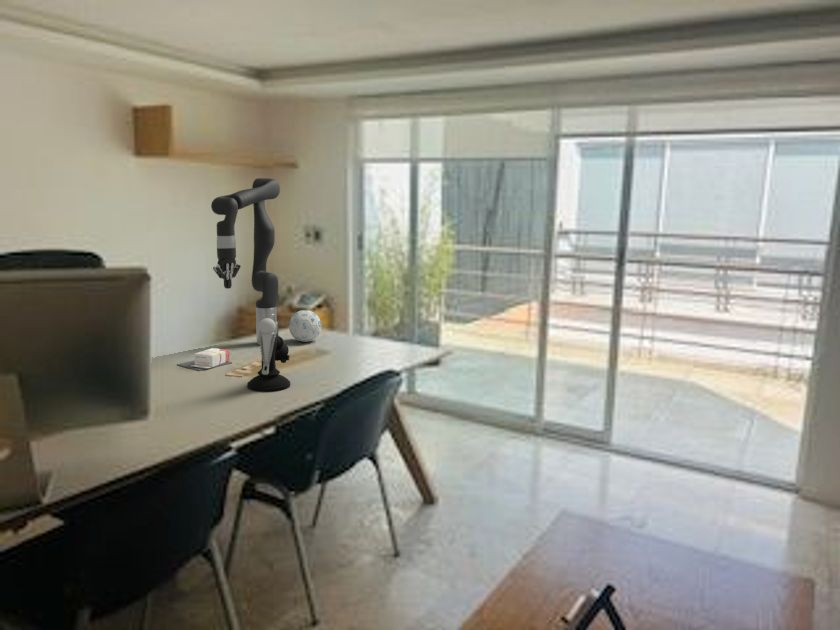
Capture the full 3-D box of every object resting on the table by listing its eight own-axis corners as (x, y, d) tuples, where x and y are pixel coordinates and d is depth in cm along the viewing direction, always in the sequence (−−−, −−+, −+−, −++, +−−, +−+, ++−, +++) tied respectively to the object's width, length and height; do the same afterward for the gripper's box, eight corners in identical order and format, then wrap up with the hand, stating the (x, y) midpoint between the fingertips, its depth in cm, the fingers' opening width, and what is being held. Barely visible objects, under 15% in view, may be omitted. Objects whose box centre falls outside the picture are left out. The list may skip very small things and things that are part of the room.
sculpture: (240, 390, 232) (238, 320, 227) (265, 373, 255) (264, 309, 250) (282, 393, 230) (281, 323, 225) (303, 375, 253) (302, 311, 248)
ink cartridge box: (229, 349, 270) (207, 357, 256) (229, 361, 271) (207, 369, 257) (211, 347, 272) (189, 354, 258) (212, 358, 273) (189, 367, 259)
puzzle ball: (300, 346, 302) (299, 314, 299) (283, 340, 313) (282, 309, 310) (327, 342, 312) (327, 310, 309) (310, 336, 323) (309, 306, 320)
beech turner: (251, 363, 269) (251, 360, 269) (267, 364, 268) (267, 362, 267) (225, 375, 250) (225, 372, 250) (241, 377, 249) (241, 374, 248)
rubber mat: (210, 357, 276) (210, 356, 276) (232, 363, 269) (232, 362, 269) (177, 365, 263) (177, 364, 263) (199, 371, 256) (199, 370, 256)
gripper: (232, 245, 278) (234, 285, 281) (207, 247, 268) (208, 289, 271) (244, 246, 274) (246, 287, 277) (219, 248, 263) (221, 291, 267)
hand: (227, 288), depth 274 cm, fingers closed
